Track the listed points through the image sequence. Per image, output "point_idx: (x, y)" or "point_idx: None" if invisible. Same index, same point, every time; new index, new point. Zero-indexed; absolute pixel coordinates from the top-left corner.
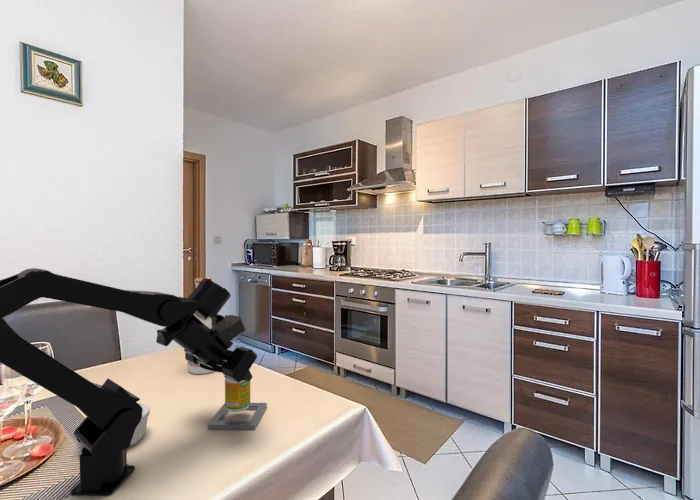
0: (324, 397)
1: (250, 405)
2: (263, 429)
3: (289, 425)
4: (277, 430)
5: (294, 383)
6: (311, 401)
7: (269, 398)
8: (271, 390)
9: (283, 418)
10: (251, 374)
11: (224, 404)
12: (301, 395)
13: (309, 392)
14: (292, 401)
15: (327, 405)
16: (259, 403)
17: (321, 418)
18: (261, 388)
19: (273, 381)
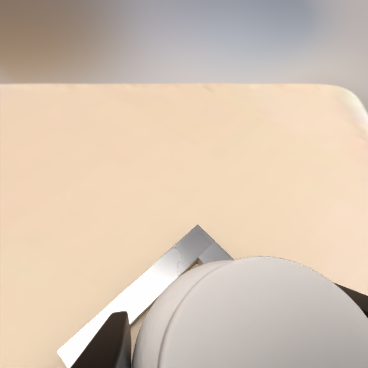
0: (256, 99)
1: (171, 279)
2: None
3: (352, 249)
4: (364, 294)
5: (120, 93)
6: (254, 129)
7: (146, 191)
8: (101, 156)
9: (301, 236)
10: (355, 291)
11: (71, 364)
12: (203, 124)
13: (203, 103)
14: (218, 159)
15: (300, 120)
16: (182, 245)
17: (357, 168)
18: (57, 167)
19: (50, 118)
